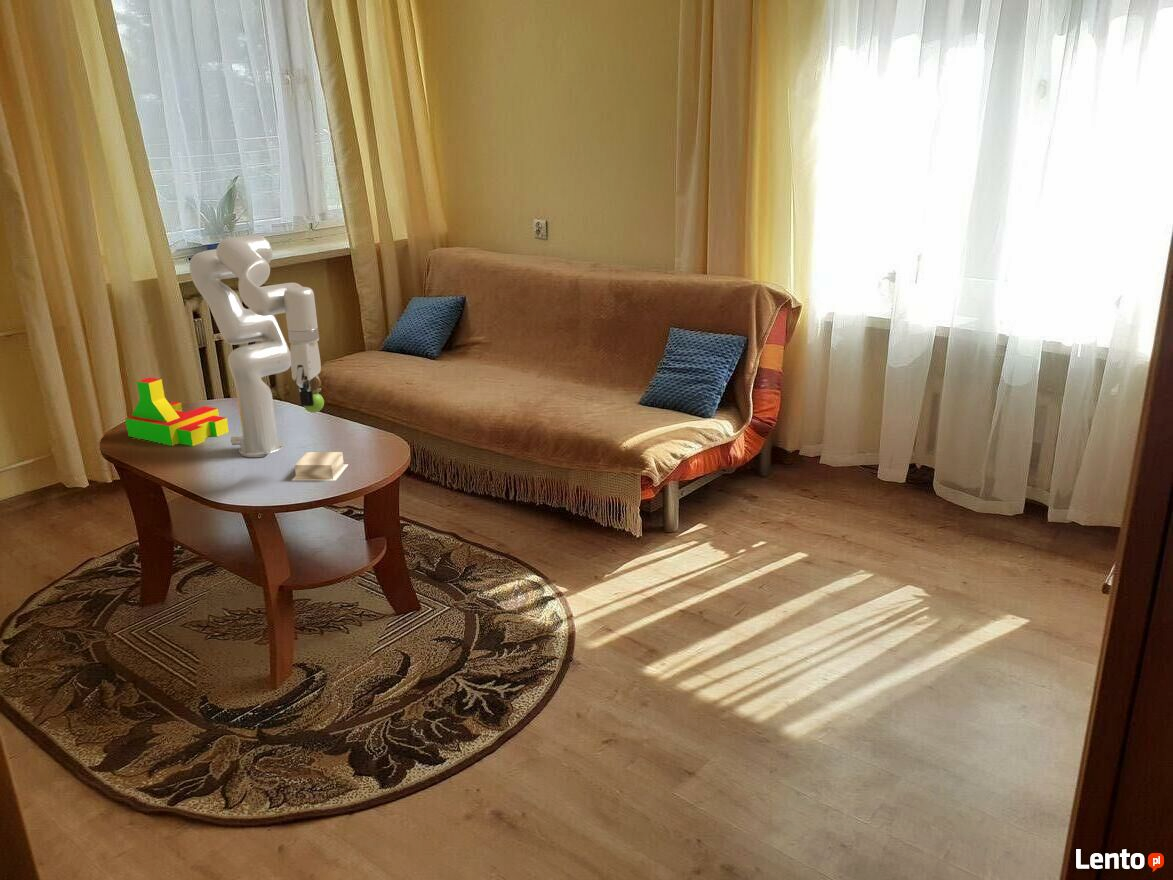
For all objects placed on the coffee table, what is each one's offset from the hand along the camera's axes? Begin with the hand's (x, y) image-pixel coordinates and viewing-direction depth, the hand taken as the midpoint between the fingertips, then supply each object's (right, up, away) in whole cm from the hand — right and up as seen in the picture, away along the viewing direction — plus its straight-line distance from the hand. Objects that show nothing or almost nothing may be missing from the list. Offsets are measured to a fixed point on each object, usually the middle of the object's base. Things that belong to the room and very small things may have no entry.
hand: (311, 401), depth 247 cm
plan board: (-2, -20, +8) cm, 22 cm away
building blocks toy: (-53, -9, +43) cm, 69 cm away
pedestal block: (0, -19, +7) cm, 20 cm away
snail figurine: (0, -3, +1) cm, 3 cm away
